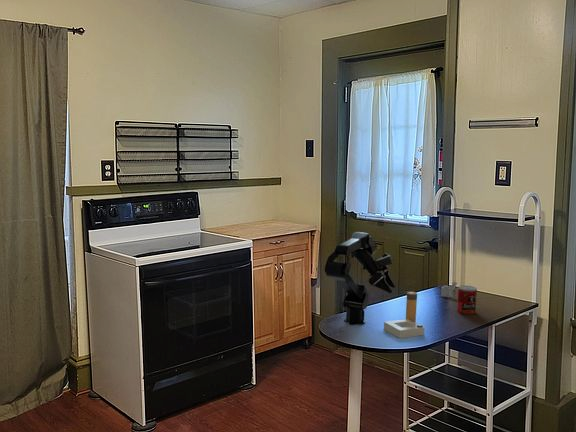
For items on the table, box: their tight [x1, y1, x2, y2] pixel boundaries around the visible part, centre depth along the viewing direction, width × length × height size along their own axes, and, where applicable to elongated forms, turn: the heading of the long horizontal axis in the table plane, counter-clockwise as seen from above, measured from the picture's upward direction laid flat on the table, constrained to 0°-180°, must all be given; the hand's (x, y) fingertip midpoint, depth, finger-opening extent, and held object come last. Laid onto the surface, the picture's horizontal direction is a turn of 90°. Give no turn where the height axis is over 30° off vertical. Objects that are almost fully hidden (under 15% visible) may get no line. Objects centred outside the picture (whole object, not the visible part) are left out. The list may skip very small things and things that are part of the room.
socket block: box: [383, 318, 426, 339], centre depth 221 cm, size 11×11×4 cm
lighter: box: [440, 281, 458, 299], centre depth 274 cm, size 7×2×8 cm, turn 51°
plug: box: [405, 291, 418, 323], centre depth 230 cm, size 4×4×13 cm
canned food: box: [456, 284, 478, 315], centre depth 250 cm, size 8×8×11 cm
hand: (392, 289), depth 231 cm, fingers open, 9 cm apart
